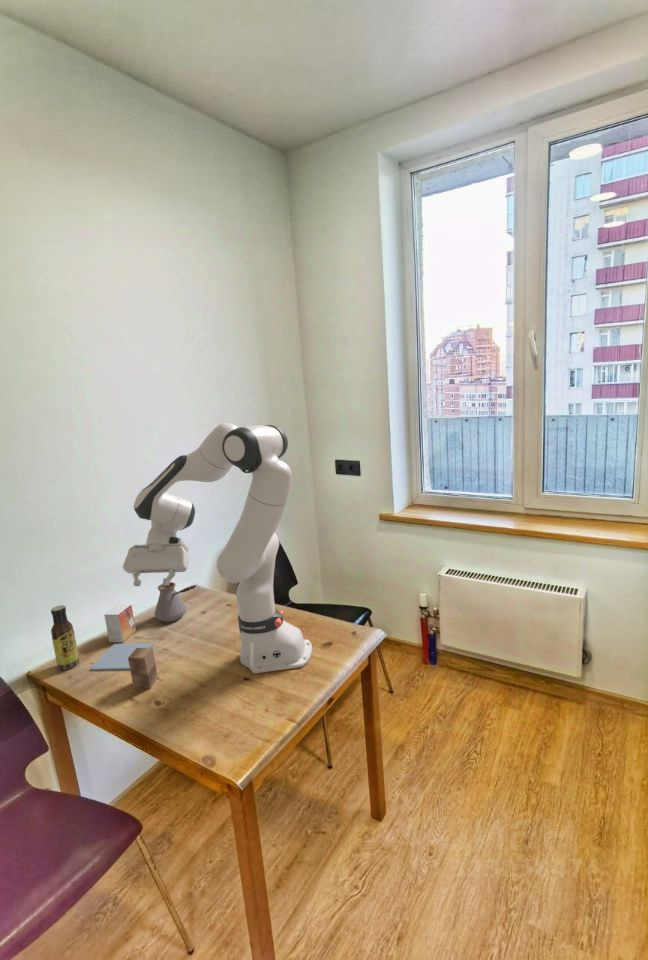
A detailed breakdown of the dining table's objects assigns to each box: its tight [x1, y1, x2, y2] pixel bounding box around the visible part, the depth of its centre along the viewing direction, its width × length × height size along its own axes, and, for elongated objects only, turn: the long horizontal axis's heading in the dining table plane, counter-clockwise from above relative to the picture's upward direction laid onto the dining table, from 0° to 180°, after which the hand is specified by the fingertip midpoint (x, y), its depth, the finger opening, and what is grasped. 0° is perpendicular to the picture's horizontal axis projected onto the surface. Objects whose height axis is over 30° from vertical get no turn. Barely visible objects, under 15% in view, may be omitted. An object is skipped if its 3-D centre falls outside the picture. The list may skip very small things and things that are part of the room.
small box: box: [104, 603, 137, 643], centre depth 165 cm, size 8×6×10 cm
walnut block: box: [128, 647, 159, 690], centre depth 137 cm, size 5×5×10 cm
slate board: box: [89, 642, 154, 671], centre depth 153 cm, size 14×14×1 cm
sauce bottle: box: [50, 604, 80, 671], centre depth 149 cm, size 6×6×20 cm
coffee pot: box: [154, 581, 200, 623], centre depth 174 cm, size 21×12×15 cm, turn 62°
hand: (151, 585), depth 145 cm, fingers open, 8 cm apart
